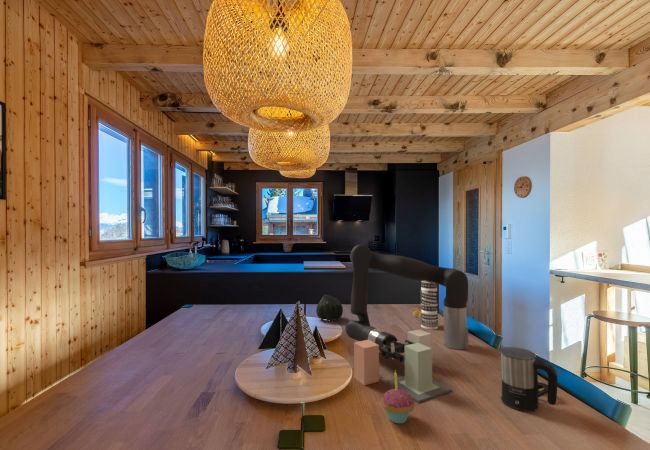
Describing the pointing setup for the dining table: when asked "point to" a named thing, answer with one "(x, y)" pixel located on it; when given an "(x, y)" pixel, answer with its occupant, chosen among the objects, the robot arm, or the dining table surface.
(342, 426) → the dining table surface
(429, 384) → the sage block
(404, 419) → the cupcake
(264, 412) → the dining table surface
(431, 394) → the slate mat
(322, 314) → the squash
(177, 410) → the dining table surface
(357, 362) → the terracotta block
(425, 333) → the cream block
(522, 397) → the milk frother
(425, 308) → the decorative candle
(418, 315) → the bread roll
